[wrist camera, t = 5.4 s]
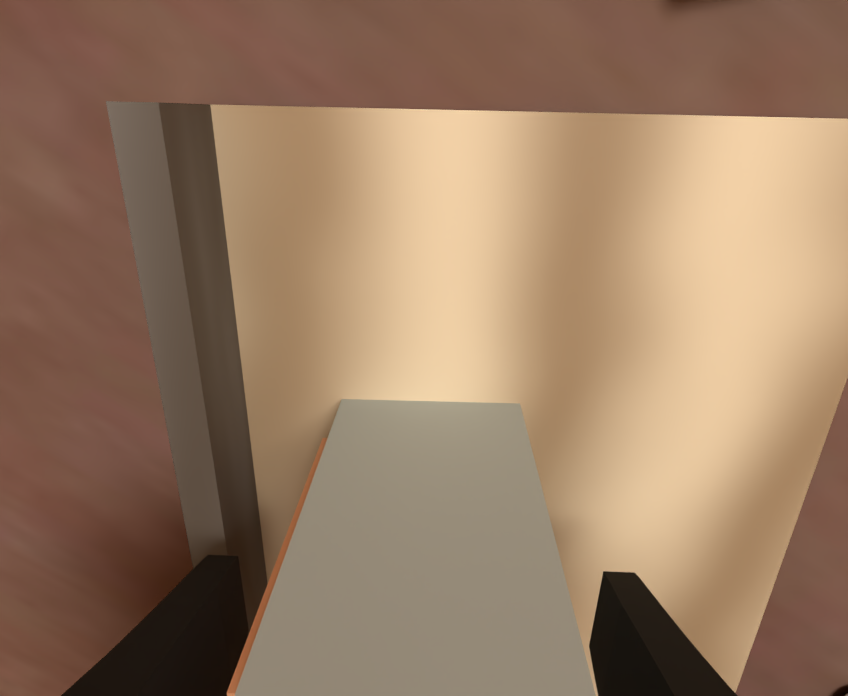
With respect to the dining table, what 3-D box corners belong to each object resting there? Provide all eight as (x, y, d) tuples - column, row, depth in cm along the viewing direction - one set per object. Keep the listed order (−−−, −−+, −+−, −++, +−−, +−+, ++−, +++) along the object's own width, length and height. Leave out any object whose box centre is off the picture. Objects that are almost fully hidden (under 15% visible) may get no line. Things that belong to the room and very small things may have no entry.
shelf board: (888, 120, 11) (1052, 121, 8) (660, 826, 20) (697, 946, 17) (186, 104, 11) (95, 101, 8) (281, 806, 21) (254, 921, 18)
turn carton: (519, 403, 12) (602, 720, 6) (502, 602, 15) (547, 984, 8) (330, 398, 12) (208, 703, 6) (343, 596, 15) (265, 969, 8)
